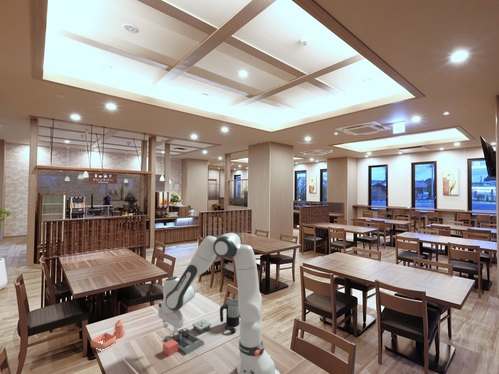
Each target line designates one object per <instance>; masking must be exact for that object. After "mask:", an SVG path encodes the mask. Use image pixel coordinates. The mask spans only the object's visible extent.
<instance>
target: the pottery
mask: <svg viewBox="0 0 499 374" xmlns="http://www.w3.org/2000/svg"><path fill="white" fill-rule="evenodd" d="M124 328H125V326H124V321H122V320H121V319H120V320H119V319H118V320H117V322H115V324H114V328H113V329H114V331H113V334H111V333H108V332H104V333H102V334H100V335H98V336H96V337H94V338H93V339H91V340H90V348H92V347H93V348H92V349H94V348H98V349H101V350H102V349H105V348H107V347H109V346H110V347H112V346H113V344H114V343H115V344H116V343H117V340H118V339H117V338H119V339H121V338H124V336H125V334H126V332H125V330H124ZM106 339H107V340H108V341H106ZM102 340H103V344H101V343H98V342H100V341H102ZM105 341H106V342H105ZM115 344H114V345H115ZM111 345H112V346H111ZM110 347H109V348H110ZM107 349H108V348H107Z"/></svg>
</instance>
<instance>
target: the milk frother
mask: <svg viewBox="0 0 499 374" xmlns="http://www.w3.org/2000/svg"><path fill="white" fill-rule="evenodd" d="M225 309H226V314H225V316H226V318H225V320H226V321H225V324H226V325H224V328H225V329H226V330H227V331H229V332H231V333H235V332H237V329H236V328H235V327H238V326H240V313H239V302H238V300H237V299H229V300H227V301H226V304H223V305H221V306H220V308H219V320H220V323H223V322H224V310H225Z"/></svg>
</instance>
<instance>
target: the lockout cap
mask: <svg viewBox="0 0 499 374" xmlns="http://www.w3.org/2000/svg"><path fill="white" fill-rule="evenodd" d="M162 352H163V353H164V354H165V355H167V356H168V357H170V356H172V355H174V354H175V353H177V352H179V350H178V343H177V342H176V341H174V340H173V339H171V340H169V341H165V342H163V343H162Z"/></svg>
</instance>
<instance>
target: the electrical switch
mask: <svg viewBox="0 0 499 374" xmlns="http://www.w3.org/2000/svg"><path fill="white" fill-rule="evenodd" d="M191 326H193V327H192V328H193V330H194V331H195V332H197V333H198V334H199V335H200V334H203V333H204V332H207V331H209V330H210V329H211V326H212V323H211V322H210V321H208V320H206V319H199V320H198V321H196V322H193V323H192V324H191Z"/></svg>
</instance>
